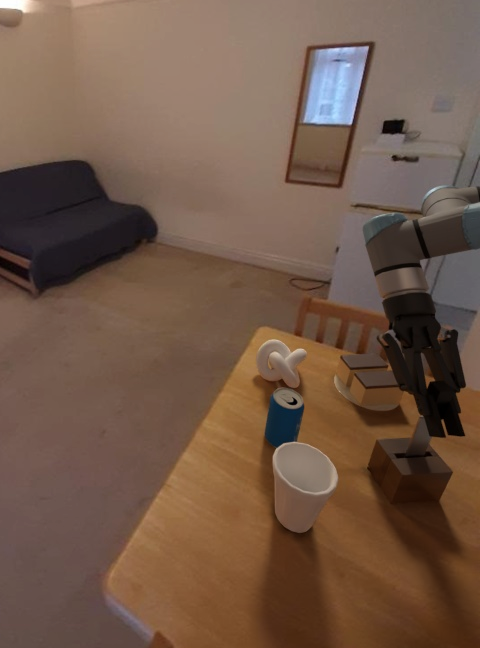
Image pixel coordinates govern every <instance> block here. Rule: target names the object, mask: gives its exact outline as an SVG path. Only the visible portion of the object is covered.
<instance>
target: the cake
mask: <svg viewBox="0 0 480 648" xmlns="http://www.w3.org/2000/svg"><path fill="white" fill-rule="evenodd" d="M389 365H390V364H388V363H387V362H386V361H385V360H384V359H383V358H382V357H381V356H380V354H378V353H377V352H374V353H373V352H371V353H355V354H340V356H339V359H338V364H337V367H336V371H335V375H337V376H338V377H339V379H340V380H341V381H342V383H343V384H344V385H345V387H350V386H351V388H350V391H349V392H350V393H351V395H352V396H353V397H354V399H355V400H356V401H357V402H358V404H359V405H360V406H359V405H358V406H359V407H361V406H373V405H390V404H399V405H400V404H401V400H402V398H403V395H404V393H405V391H401V390H400V389H399V386H398V384H397V381H396V379H395V376H394V374H393V371H392V369H391V370H388V369H389V367H390V366H389Z"/></svg>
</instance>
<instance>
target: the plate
mask: <svg viewBox="0 0 480 648" xmlns="http://www.w3.org/2000/svg"><path fill="white" fill-rule="evenodd" d="M333 382H334V386H335V388H336V390H337V391H338V393H339V394H341V395H342V397H344V398H345V399H346V400H347V401H349V402H351V403H352V404H353V405H354V404H355V405H356V406H359V407H360V408H361V407H362V408H364V409H367V410H372V411H380V412H386V411H391V410H394V409H395V408H397V407H398V406H399V405H400V404H390V405H373V406H360V405H359V404H358V402H357V401H356V400H355V399H354V397H353V396H352V395H351V393H350V392H349V391H350V388H351V386H350V387H345V385H344V384H343V383H342V381H341V380H340V379H339V377H338V376H337V375H336V374H335V375H334V377H333Z"/></svg>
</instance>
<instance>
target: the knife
mask: <svg viewBox="0 0 480 648" xmlns="http://www.w3.org/2000/svg"><path fill="white" fill-rule="evenodd" d="M427 385H428V386H427V394H426V395H434V398H435V402H436V405H437V408H438V411H439V415H440V418H441V421H443V418H444V415H445V413H446V411H447V408H448V406H449V403H450V401H451V399H452V396H453V394H454V392H455V391H454V390H453V389H452V388H451V387H450V386H449V385H448V384H447V383H446V382H445V381H435V380H431V381H429V383H428V384H427ZM410 437H411V439H410V442H409V445H408V447H407V450H406V452H405V455H404V457H405V458H416V457H424V455H425V452H426V450H427V448H428V445H429V444H430V443H431V441H432V438H433V437H431V436H429V433H428V430H427V426H426V423H425V419H424V416H423V415H422V416H418V419H417V422H416V424H415V427H414V430H413V432H412V434H411V436H410Z"/></svg>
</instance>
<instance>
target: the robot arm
mask: <svg viewBox="0 0 480 648" xmlns="http://www.w3.org/2000/svg"><path fill="white" fill-rule="evenodd" d="M420 213H421V215H422V217H420V218H416V219H411V220H410V219H409V220H408V218H406V215H405V214H403V213H401V212H390V213H383V214H379V215H377V216H376V215H375V216H374V217H372V218H370V219H368V220H367V221H365V223H363V225H362V234H363V237H364V238H363V239H364V243H365V244H364V246H365V248H366V252H367V256H368V258H369V262H370V266H371V268H372V271H373V276H374V279H375V282H376V286H377V290H378V292H379V293H378V294H379V296H380V298H382V299H383V300H382V302H381V304H382V308H383V311H384V315H385V318H386V319H387V320H388V327H387V329H388V330H387V331H386V332H383V333H381V334H378V335H376V341H377V342H378V343H379V344H380V345H381V347H382V349H383V350H384V353H385V355H386V358H387V359H388V363H389V365H390V366H389V367H390V369H391V370H392V371H393V374H394V376H395V379H396V381H397V384H398V386H399V389H400V390H401V391H404V393H405V392H406V393H408V394H409V395H410V396H413V399H414V402H415V405H416V408H417V412H418V414H419V415H420V416H422V417H423V416H424V419H425V423H426V426H427V430H428V433H429V436H431V437H432V438H440V439H446V438H447V436H451V437H452V436H453V437H460V438H461V437H466V433H465V431H464V427H463V424H462V421H461V418H460V415H459V414H462V409H461V406H460V403H459V399H458V396H457V394H459V393H461V389H465V388H466V386H467V383H466V377H465V374H464V370H463V364H462V360H461V355H460V350H459V346H458V339H459V332H458V330H456V329H448V328H445V327H443V326H442V325H441V323H440V322H439V321H438V319H437V318H436V313H437V308H436V306H435V303H434V300H433V297H432V295H431V294H430V293H429V292H428V291H429V290H430V287H429V284H428V281H427V278H426V275H425V272H424V269H423V267H422V264H421V261H423V260H428V259H432V258H438V257H443V256H447V255H453V254H457V253H463V252H467V251H472V250H475V251H476V250H480V185H477V186H469V187H457V186H454V185H448V184H445V185H444V184H443V185H438V186H435V187H434V188H431V189H430V190H428V191H427V192H426V193H425V195H424V196H423V197H422V201H421V206H420ZM398 342H399V343H400V345H399V343H398ZM422 354H423V356H424V358H425V360H426V363H427V365H428V367H429V371H430V372H431V375H432V377H433V379H434V381H445V382H446V383H447V384H448V385H449V386H450V387H451V388H452V389H453V390H454V391H455V392H454V394H453V396H452V399H451V401H450V403H449V406H448V408H447V411H446V413H445V415H444V418H443V420H441V418H440V415H439V411H438V408H437V405H436V402H435V398H434V395H426V394H427V388H428V386H427V381H426V375H425V370H424V364H423V359H422ZM442 421H443V422H442ZM443 423H444V425H443ZM444 427H445V428H444ZM445 431H446V432H445ZM446 434H447V435H446Z"/></svg>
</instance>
